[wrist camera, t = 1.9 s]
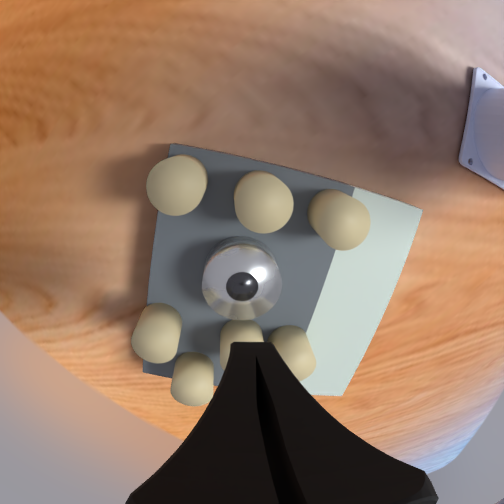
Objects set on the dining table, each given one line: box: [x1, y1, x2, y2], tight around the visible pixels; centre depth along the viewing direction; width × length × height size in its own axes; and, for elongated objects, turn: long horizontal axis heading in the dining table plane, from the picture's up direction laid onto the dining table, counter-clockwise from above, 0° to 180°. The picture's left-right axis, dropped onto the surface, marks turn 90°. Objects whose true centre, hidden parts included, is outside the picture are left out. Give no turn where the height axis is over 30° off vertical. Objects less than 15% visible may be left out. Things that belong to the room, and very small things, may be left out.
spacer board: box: [131, 143, 423, 406], centre depth 18 cm, size 15×15×4 cm
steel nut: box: [202, 236, 282, 320], centre depth 17 cm, size 4×4×2 cm
